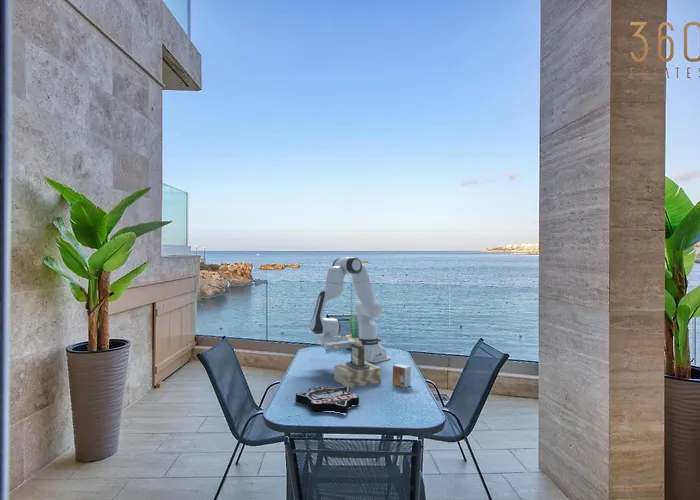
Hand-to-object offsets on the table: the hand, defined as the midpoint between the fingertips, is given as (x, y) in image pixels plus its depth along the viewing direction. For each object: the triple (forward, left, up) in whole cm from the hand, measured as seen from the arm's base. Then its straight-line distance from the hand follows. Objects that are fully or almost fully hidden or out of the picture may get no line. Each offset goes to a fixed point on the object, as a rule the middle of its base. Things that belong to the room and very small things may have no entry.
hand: (346, 347), depth 247 cm
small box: (-17, +29, -16) cm, 37 cm away
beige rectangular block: (0, +12, -16) cm, 20 cm away
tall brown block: (0, +12, -8) cm, 15 cm away
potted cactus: (-43, -61, -16) cm, 76 cm away
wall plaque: (+29, +36, -17) cm, 49 cm away
